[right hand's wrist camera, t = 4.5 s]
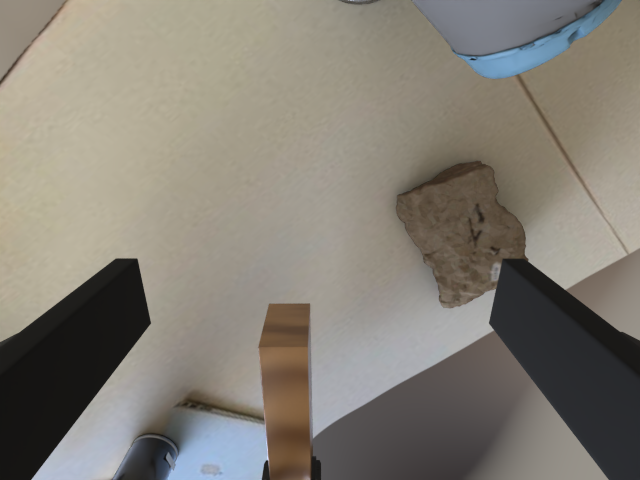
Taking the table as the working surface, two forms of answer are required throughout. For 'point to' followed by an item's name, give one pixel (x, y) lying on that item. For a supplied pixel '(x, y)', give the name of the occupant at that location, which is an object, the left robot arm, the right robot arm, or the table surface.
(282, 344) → the bar
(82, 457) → the table surface
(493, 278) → the stone
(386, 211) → the table surface
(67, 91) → the table surface
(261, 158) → the table surface
